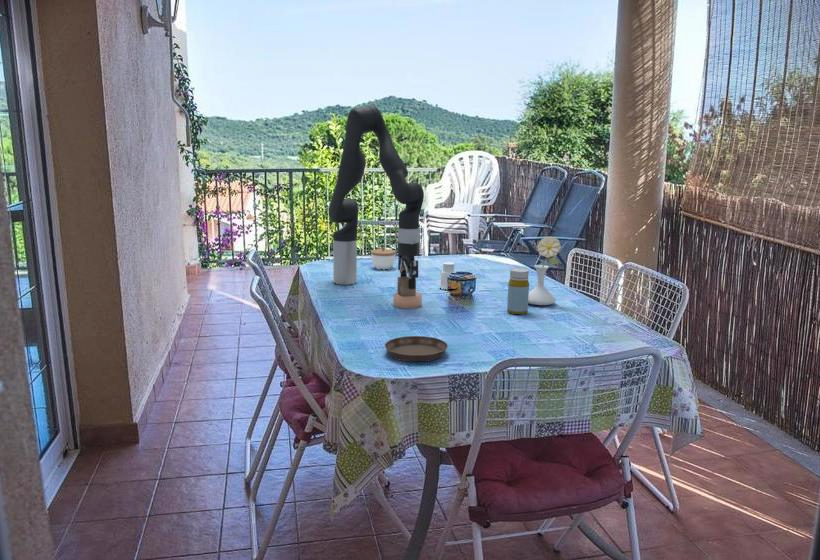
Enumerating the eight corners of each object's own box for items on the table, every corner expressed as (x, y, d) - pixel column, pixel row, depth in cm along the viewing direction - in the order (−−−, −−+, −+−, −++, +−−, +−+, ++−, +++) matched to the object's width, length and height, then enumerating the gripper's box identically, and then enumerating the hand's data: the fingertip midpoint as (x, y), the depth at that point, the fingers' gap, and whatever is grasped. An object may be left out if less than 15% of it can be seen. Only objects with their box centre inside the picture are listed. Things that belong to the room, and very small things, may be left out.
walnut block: (397, 293, 261) (397, 277, 260) (410, 292, 263) (410, 276, 262) (402, 296, 257) (402, 280, 256) (415, 295, 259) (415, 279, 257)
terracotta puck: (388, 304, 263) (388, 293, 262) (412, 301, 268) (412, 290, 267) (402, 310, 254) (402, 299, 253) (426, 307, 259) (427, 296, 258)
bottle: (515, 308, 258) (517, 267, 255) (531, 312, 254) (534, 270, 250) (502, 312, 254) (504, 269, 250) (519, 316, 249) (521, 272, 246)
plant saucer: (374, 360, 203) (374, 349, 202) (398, 342, 219) (398, 332, 218) (435, 368, 197) (435, 357, 196) (455, 350, 213) (455, 339, 212)
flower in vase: (517, 303, 266) (520, 235, 260) (534, 298, 274) (538, 231, 269) (548, 310, 257) (552, 239, 252) (565, 304, 265) (570, 236, 260)
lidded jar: (395, 271, 316) (395, 249, 314) (370, 270, 316) (370, 249, 314) (395, 266, 327) (396, 245, 324) (371, 265, 327) (371, 245, 325)
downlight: (455, 291, 283) (456, 265, 281) (437, 290, 284) (438, 264, 282) (458, 287, 290) (459, 262, 288) (440, 286, 292) (441, 261, 290)
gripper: (391, 237, 261) (391, 282, 265) (405, 244, 248) (404, 291, 252) (411, 237, 264) (410, 281, 267) (425, 243, 251) (424, 290, 254)
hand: (407, 286), depth 259 cm, fingers open, 8 cm apart
